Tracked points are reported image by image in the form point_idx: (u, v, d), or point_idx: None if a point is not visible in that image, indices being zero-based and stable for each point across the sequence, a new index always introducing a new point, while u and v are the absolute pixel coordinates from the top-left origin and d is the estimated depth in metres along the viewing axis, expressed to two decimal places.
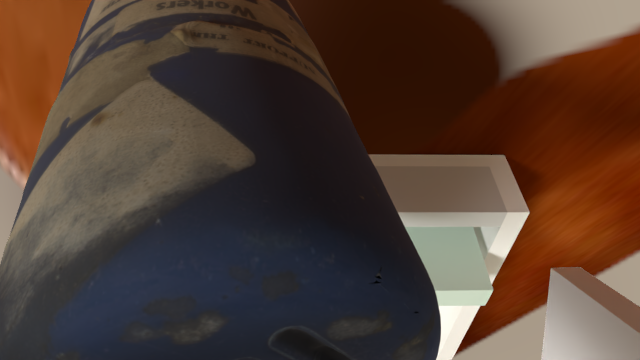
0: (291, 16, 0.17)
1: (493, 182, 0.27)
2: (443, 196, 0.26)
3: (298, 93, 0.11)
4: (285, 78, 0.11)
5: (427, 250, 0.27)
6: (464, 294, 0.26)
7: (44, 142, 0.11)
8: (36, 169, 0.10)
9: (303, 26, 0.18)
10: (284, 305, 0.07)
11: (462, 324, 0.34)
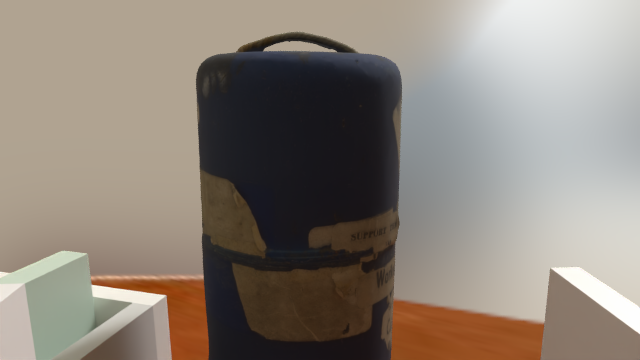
0: (343, 338, 0.20)
1: None
2: None
3: (371, 187, 0.20)
4: (374, 200, 0.20)
5: None
6: None
7: None
8: None
9: None
10: (371, 55, 0.20)
11: None
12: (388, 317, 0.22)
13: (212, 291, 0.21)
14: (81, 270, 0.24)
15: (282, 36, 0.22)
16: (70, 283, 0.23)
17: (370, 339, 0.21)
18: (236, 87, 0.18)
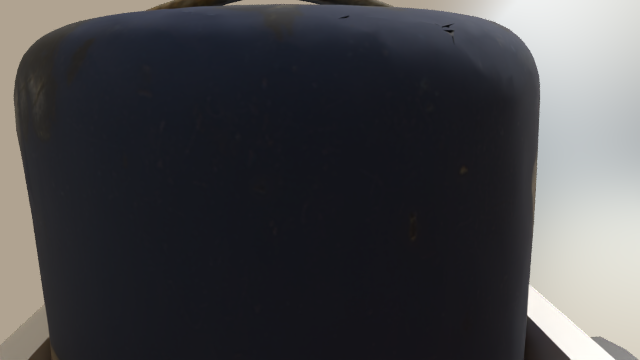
0: None
1: None
2: None
3: None
4: None
5: None
6: None
7: None
8: None
9: None
10: None
11: None
12: None
13: None
14: None
15: None
16: None
17: None
18: (70, 123, 0.06)
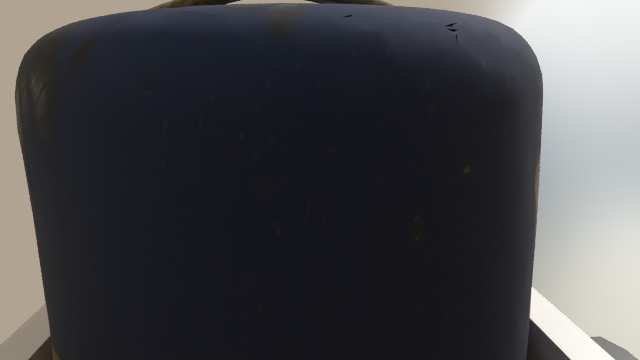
0: None
1: None
2: None
3: None
4: None
5: None
6: None
7: None
8: None
9: None
10: None
11: None
12: None
13: None
14: None
15: None
16: None
17: None
18: (71, 122, 0.06)
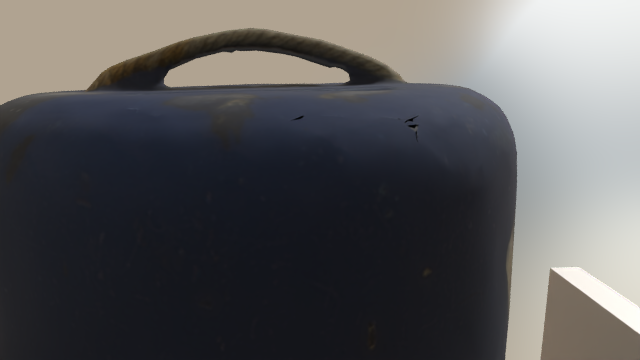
0: None
1: None
2: None
3: None
4: None
5: None
6: None
7: None
8: None
9: None
10: (447, 91, 0.07)
11: None
12: None
13: None
14: None
15: (211, 40, 0.09)
16: None
17: None
18: (10, 223, 0.05)
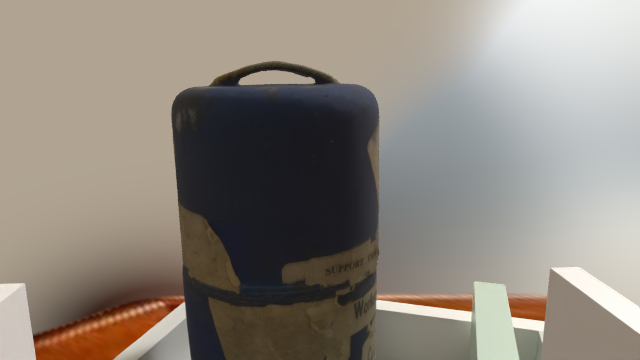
0: None
1: None
2: None
3: (346, 220, 0.19)
4: (350, 233, 0.20)
5: None
6: None
7: None
8: None
9: None
10: (345, 86, 0.20)
11: None
12: (369, 346, 0.22)
13: (191, 322, 0.21)
14: None
15: (257, 66, 0.21)
16: None
17: None
18: (206, 125, 0.18)
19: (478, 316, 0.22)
